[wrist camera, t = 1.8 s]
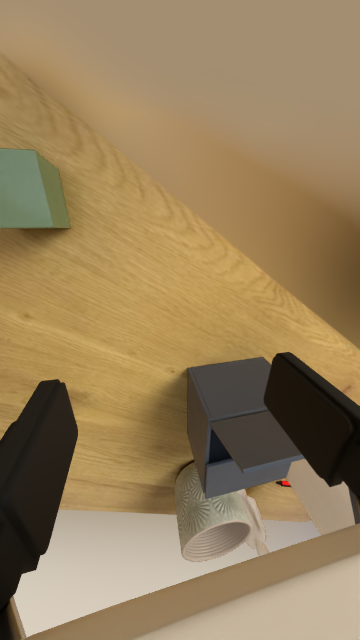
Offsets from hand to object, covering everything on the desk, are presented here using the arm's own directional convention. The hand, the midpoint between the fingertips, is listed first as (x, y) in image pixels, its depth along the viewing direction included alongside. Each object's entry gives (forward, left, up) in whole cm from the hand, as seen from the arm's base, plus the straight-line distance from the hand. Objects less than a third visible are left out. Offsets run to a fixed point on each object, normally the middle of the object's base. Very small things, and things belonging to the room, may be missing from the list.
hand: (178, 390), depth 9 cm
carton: (+14, +19, -18) cm, 29 cm away
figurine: (+39, +36, -18) cm, 56 cm away
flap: (+6, +15, -4) cm, 17 cm away
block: (-4, -13, -18) cm, 22 cm away
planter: (+34, +24, -18) cm, 45 cm away
